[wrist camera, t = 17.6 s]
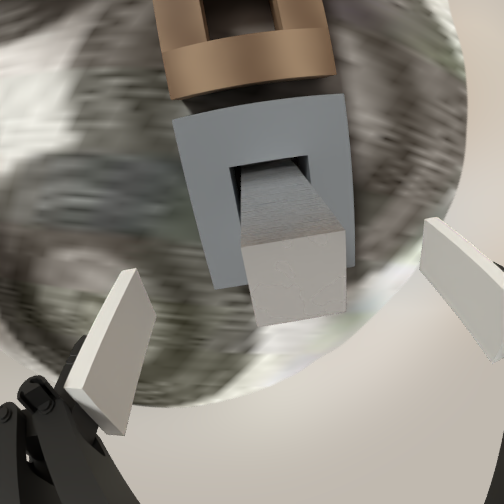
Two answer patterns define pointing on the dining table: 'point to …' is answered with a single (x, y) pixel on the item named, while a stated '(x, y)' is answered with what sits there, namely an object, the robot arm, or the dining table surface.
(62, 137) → the dining table surface
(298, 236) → the steel peg
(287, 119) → the block
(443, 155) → the dining table surface
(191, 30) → the socket block
